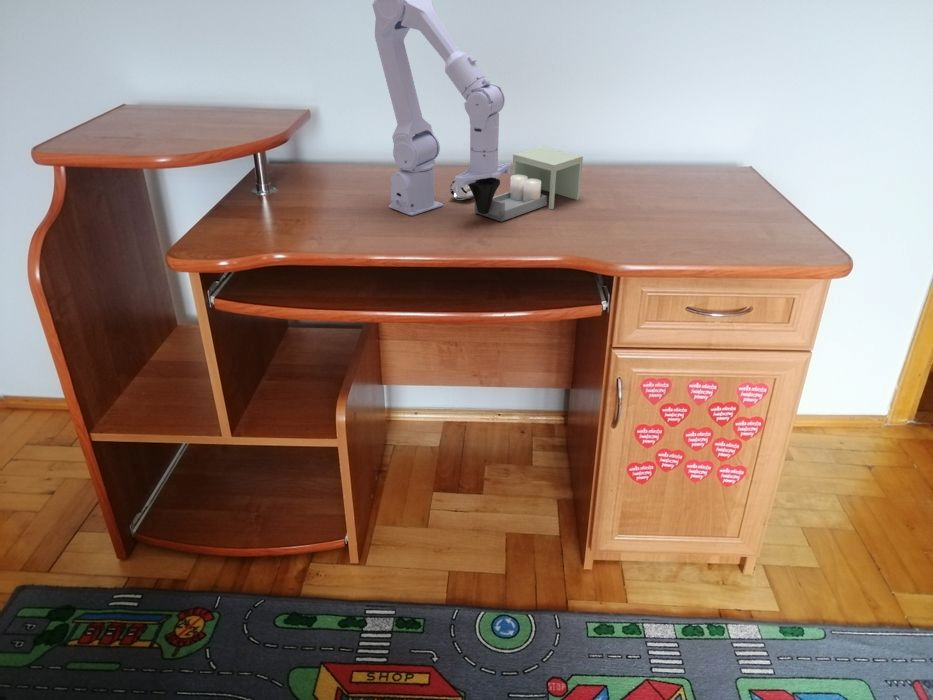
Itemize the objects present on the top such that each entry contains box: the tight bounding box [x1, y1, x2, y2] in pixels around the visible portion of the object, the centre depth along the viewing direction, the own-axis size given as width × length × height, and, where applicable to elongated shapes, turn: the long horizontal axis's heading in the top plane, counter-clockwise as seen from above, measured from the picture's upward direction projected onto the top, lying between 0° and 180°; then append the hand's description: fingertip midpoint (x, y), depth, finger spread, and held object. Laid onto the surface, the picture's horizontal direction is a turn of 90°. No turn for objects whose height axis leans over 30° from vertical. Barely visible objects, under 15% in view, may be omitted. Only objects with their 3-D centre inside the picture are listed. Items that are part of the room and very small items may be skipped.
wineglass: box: [449, 178, 474, 201], centre depth 163 cm, size 6×6×12 cm
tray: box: [474, 174, 548, 222], centre depth 154 cm, size 15×8×6 cm, turn 134°
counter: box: [511, 145, 584, 210], centre depth 160 cm, size 10×12×10 cm
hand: (483, 212), depth 149 cm, fingers closed
